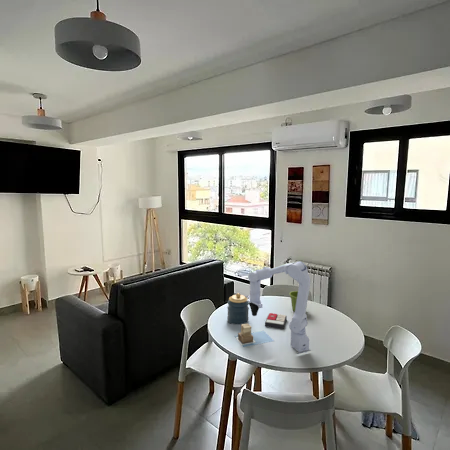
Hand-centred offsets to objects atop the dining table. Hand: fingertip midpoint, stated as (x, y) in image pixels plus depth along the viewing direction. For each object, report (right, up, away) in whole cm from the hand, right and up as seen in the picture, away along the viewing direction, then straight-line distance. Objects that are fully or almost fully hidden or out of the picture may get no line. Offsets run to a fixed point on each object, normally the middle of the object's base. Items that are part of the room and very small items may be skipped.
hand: (254, 315), depth 168 cm
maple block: (-5, -7, -10) cm, 13 cm away
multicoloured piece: (+14, -9, +12) cm, 21 cm away
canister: (-9, -8, +15) cm, 19 cm away
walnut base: (-6, -10, -9) cm, 15 cm away
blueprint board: (-1, -11, -8) cm, 13 cm away
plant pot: (+32, -6, +32) cm, 46 cm away
